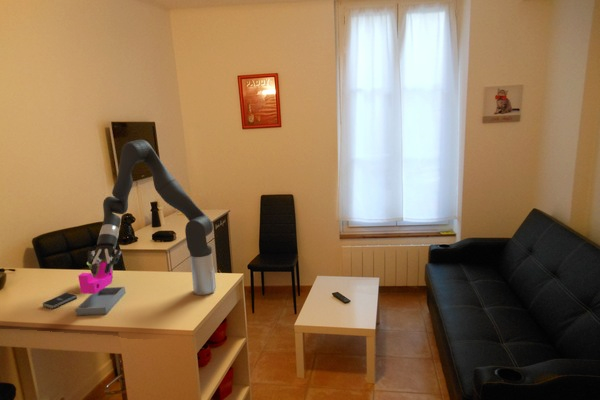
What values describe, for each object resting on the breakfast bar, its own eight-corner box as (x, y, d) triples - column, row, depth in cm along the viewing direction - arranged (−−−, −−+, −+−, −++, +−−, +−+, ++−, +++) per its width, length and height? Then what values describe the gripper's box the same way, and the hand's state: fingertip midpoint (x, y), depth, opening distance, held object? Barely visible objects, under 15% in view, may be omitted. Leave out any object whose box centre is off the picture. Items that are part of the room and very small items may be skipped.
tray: (125, 292, 174) (124, 286, 174) (106, 314, 155) (105, 307, 155) (98, 294, 174) (98, 288, 173) (76, 316, 155) (75, 309, 154)
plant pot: (123, 281, 188) (120, 258, 186) (99, 290, 178) (95, 267, 176) (108, 276, 194) (105, 254, 192) (84, 285, 185) (81, 262, 182)
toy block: (95, 293, 155) (92, 276, 153) (81, 293, 156) (78, 275, 154) (118, 278, 169) (115, 261, 168) (105, 277, 170) (102, 261, 169)
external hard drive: (42, 307, 164) (41, 303, 164) (67, 296, 174) (66, 292, 173) (53, 310, 161) (52, 306, 161) (78, 299, 171) (77, 294, 171)
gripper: (88, 233, 169) (78, 270, 160) (121, 232, 170) (114, 269, 161) (95, 241, 176) (86, 277, 167) (127, 240, 176) (120, 276, 167)
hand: (100, 273), depth 164 cm, fingers closed on toy block, 4 cm apart
